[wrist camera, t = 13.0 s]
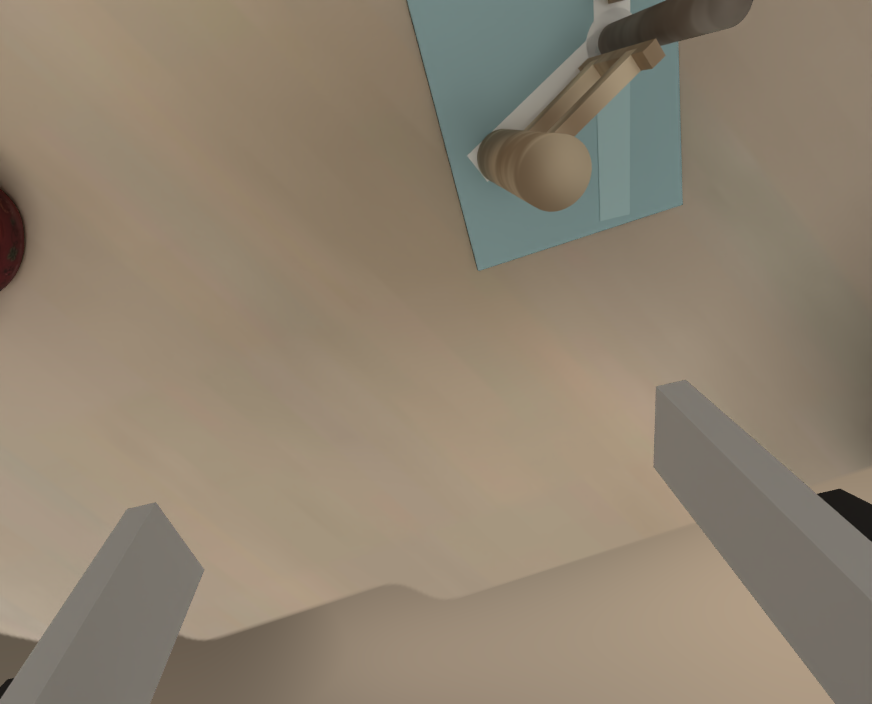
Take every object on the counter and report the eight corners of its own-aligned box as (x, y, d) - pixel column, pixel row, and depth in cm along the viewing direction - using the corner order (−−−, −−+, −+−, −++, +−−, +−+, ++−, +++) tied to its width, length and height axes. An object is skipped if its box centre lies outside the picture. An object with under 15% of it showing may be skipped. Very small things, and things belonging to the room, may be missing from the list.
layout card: (679, 203, 36) (683, 204, 35) (477, 269, 37) (478, 271, 36) (666, -228, 25) (671, -235, 24) (374, -120, 25) (374, -124, 25)
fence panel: (575, 41, 29) (675, 1, 19) (605, 87, 31) (713, 72, 21) (466, 156, 32) (505, 174, 22) (499, 193, 33) (549, 226, 23)
